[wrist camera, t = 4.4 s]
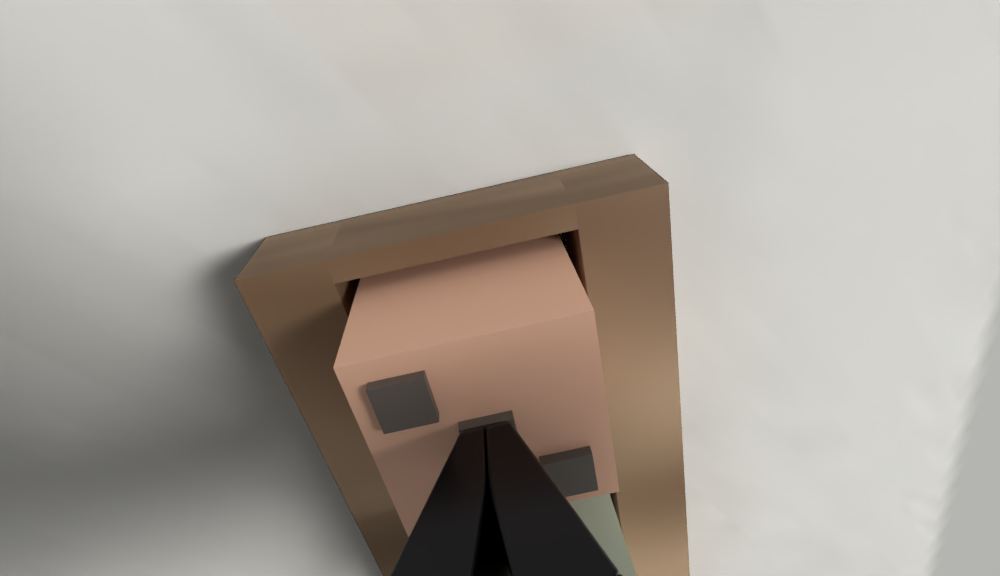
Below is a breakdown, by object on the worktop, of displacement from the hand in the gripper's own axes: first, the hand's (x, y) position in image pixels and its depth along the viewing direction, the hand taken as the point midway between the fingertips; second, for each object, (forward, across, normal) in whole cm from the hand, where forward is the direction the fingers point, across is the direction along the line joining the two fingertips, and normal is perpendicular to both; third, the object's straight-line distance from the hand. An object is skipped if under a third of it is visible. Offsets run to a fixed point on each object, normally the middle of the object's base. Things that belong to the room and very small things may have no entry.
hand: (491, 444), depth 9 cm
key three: (+4, 0, 0) cm, 4 cm away
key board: (+4, 0, +6) cm, 7 cm away
